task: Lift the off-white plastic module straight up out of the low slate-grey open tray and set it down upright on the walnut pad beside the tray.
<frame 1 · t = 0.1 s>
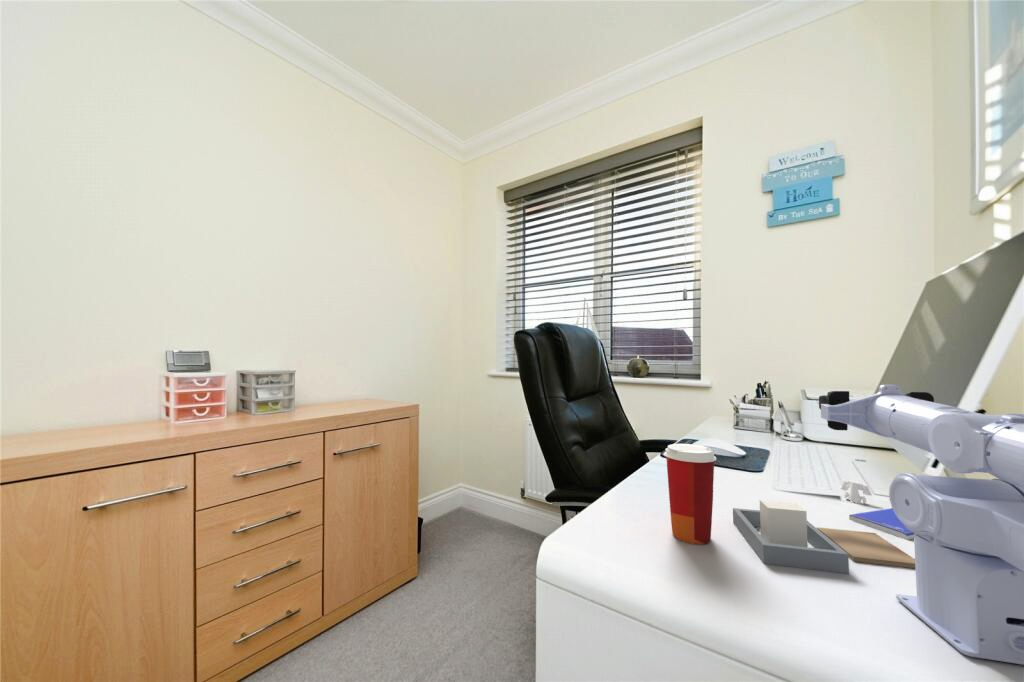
hand: (850, 402, 61), 22 cm above the table, tool horizontal, fingers open, 7 cm apart
tray: (783, 544, 59), on the table
clip: (855, 502, 78), on the table
module: (783, 545, 59), resting in tray
paper cup: (690, 537, 62), on the table
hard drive: (900, 528, 67), on the table
pad: (864, 548, 58), on the table
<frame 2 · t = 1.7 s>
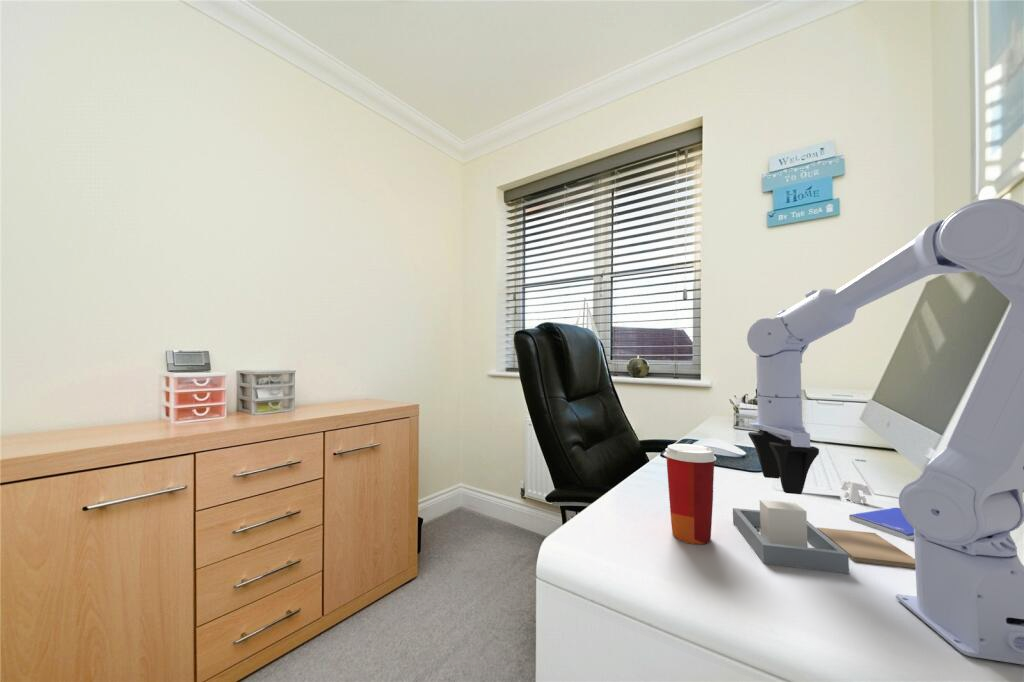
hand: (781, 484, 60), 9 cm above the table, tool pointing down, fingers open, 7 cm apart
nothing on the table moved.
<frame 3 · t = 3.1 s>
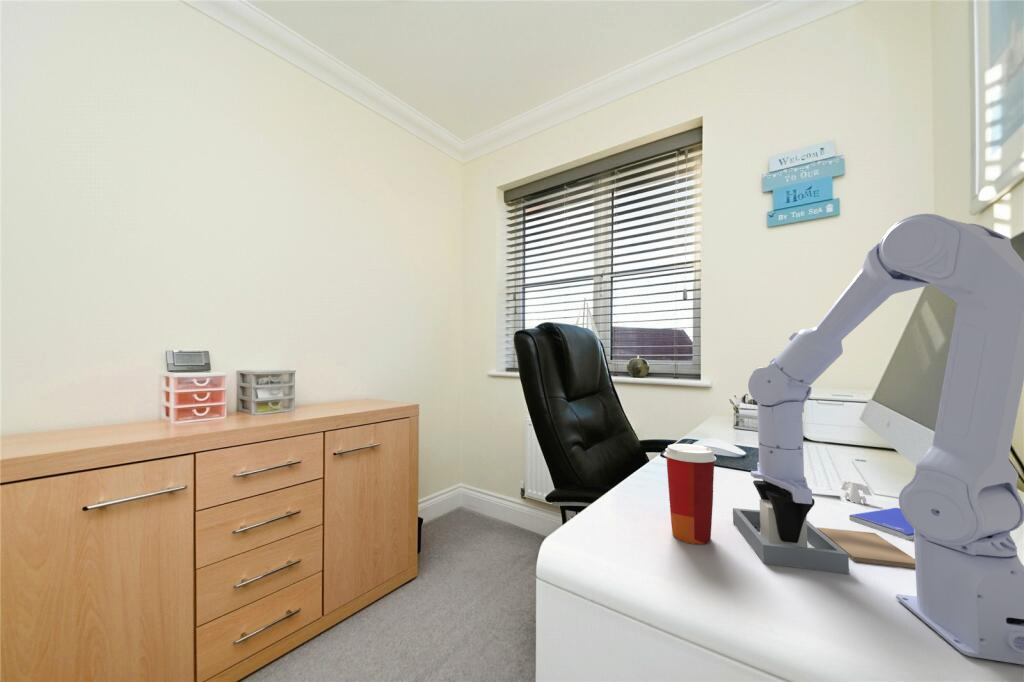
hand: (782, 535, 59), 1 cm above the table, tool pointing down, fingers closed on module, 3 cm apart
module: (783, 544, 59), resting in tray, touching gripper
everything else where it was.
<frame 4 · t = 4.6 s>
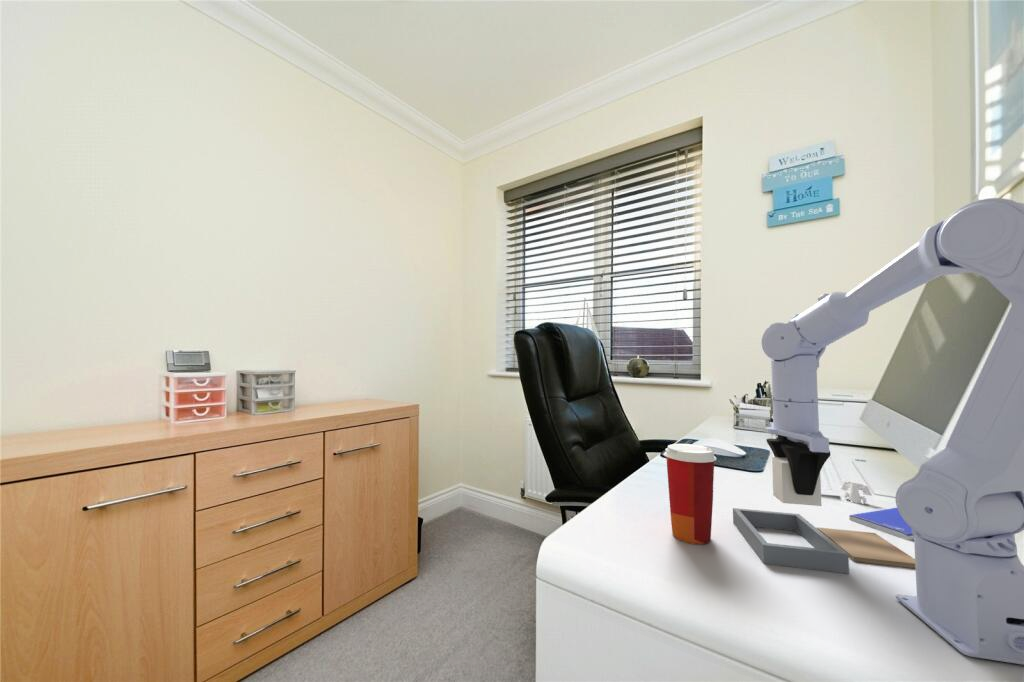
hand: (797, 489, 59), 8 cm above the table, tool pointing down, fingers closed on module, 3 cm apart
module: (796, 500, 59), point 7 cm above the table, touching gripper
everything else where it was.
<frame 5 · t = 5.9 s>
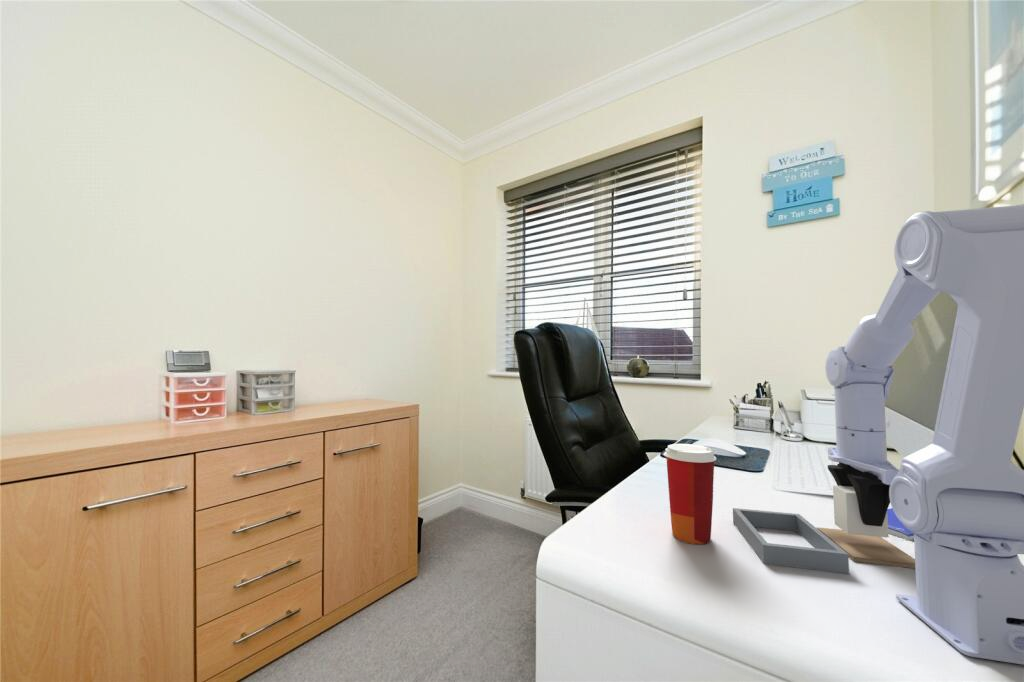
hand: (863, 519, 58), 4 cm above the table, tool pointing down, fingers closed on module, 3 cm apart
module: (860, 530, 58), point 3 cm above the table, touching gripper
everything else where it was.
when the fingers open (3 cm above the table, at t = 6.5 s): module stays where it is, resting on pad.
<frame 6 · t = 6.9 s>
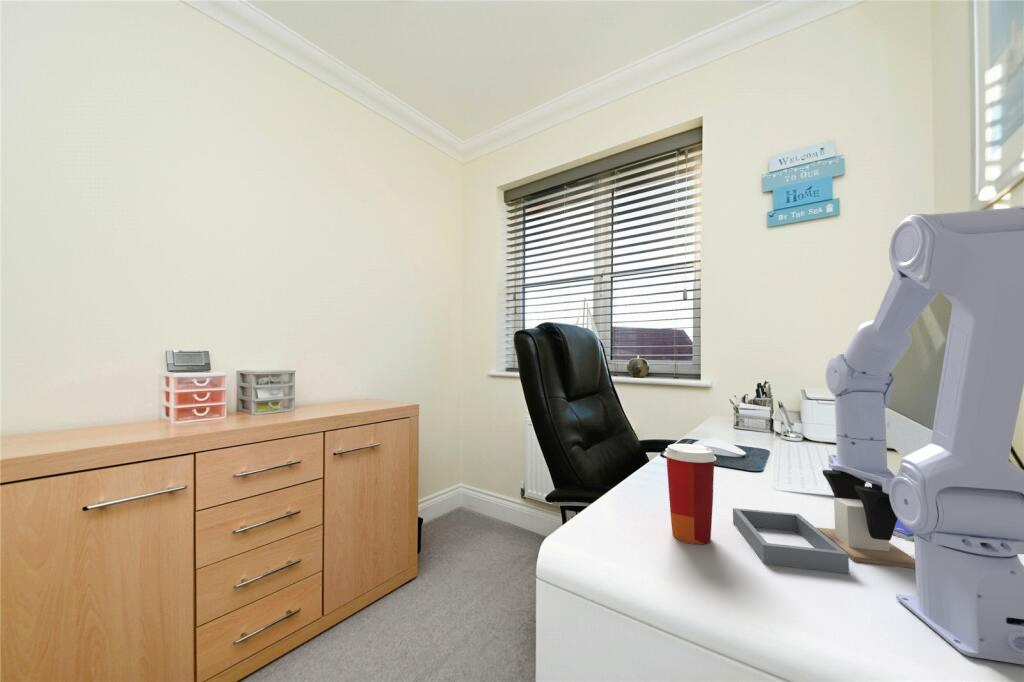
hand: (864, 527, 58), 3 cm above the table, tool pointing down, fingers open, 7 cm apart
module: (861, 543, 58), point 1 cm above the table, touching pad
everything else where it was.
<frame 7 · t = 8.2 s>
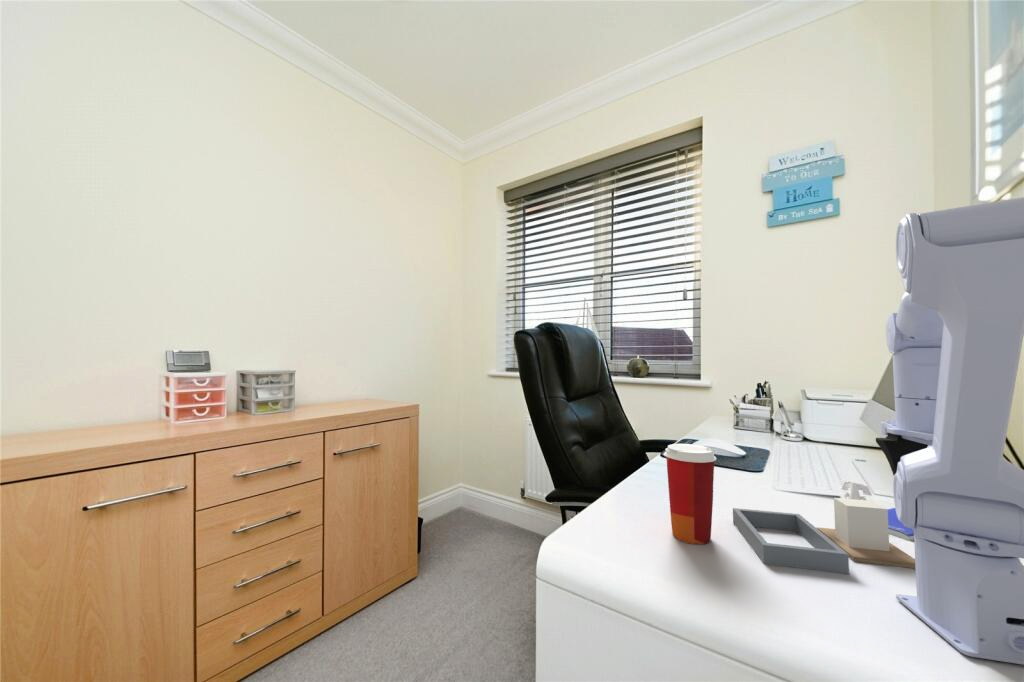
hand: (927, 497, 53), 9 cm above the table, tool pointing down, fingers open, 7 cm apart
nothing on the table moved.
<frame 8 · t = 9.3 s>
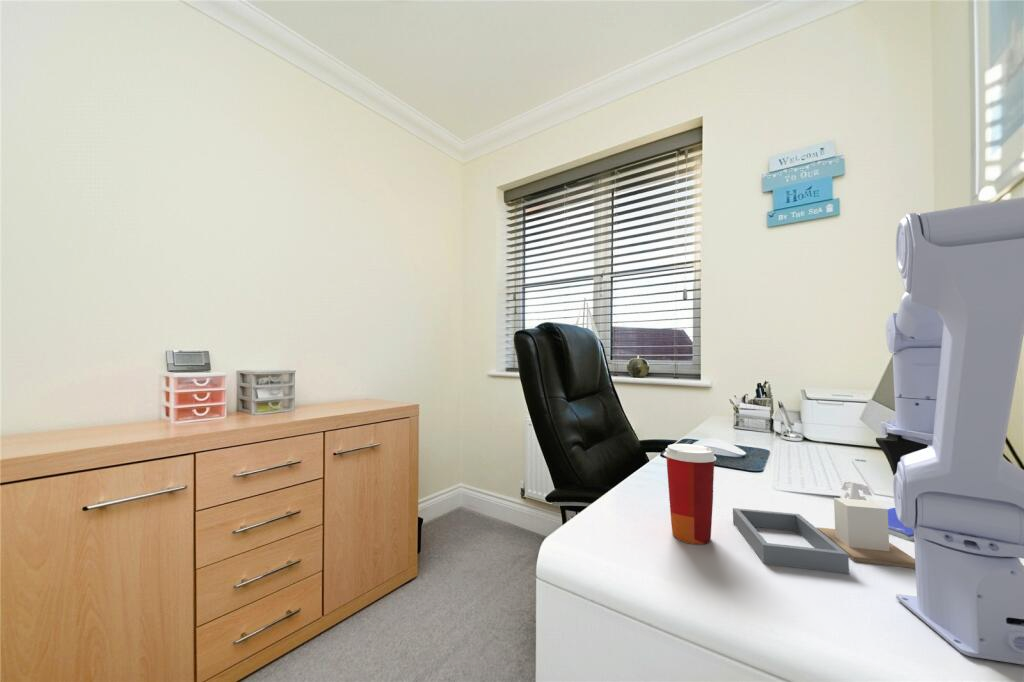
hand: (927, 497, 53), 9 cm above the table, tool pointing down, fingers open, 7 cm apart
nothing on the table moved.
at the end: module inside the target area on the pad (0.4 cm from its centre), point 0.6 cm above the pad's base; module tilted 0°; the gripper is holding nothing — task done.
